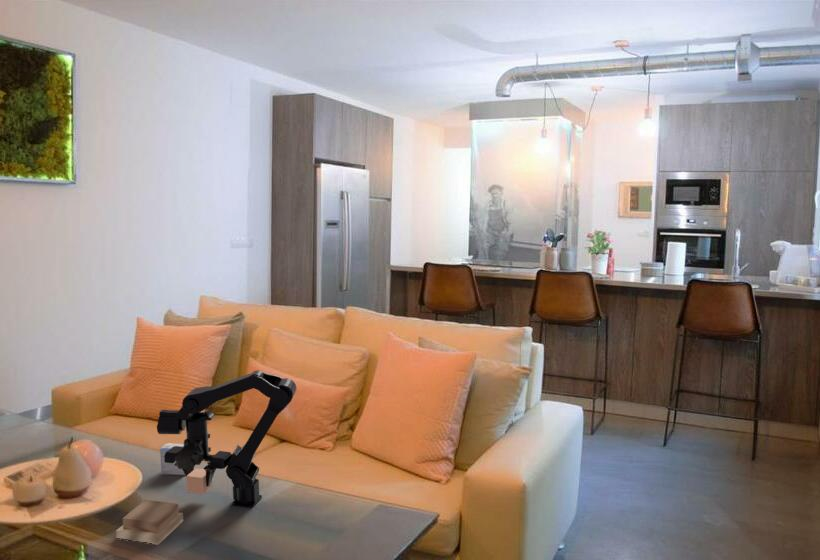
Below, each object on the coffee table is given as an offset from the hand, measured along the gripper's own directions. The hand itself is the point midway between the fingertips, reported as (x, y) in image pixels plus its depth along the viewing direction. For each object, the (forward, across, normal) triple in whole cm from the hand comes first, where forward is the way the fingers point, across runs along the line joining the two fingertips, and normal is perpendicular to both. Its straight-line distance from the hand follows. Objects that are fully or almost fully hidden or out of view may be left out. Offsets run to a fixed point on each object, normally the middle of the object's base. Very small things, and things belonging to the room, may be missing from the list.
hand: (199, 485), depth 197 cm
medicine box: (+5, -17, +15) cm, 23 cm away
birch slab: (+6, -5, -17) cm, 19 cm away
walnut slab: (+3, -5, -17) cm, 18 cm away
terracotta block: (+1, 0, 0) cm, 1 cm away
